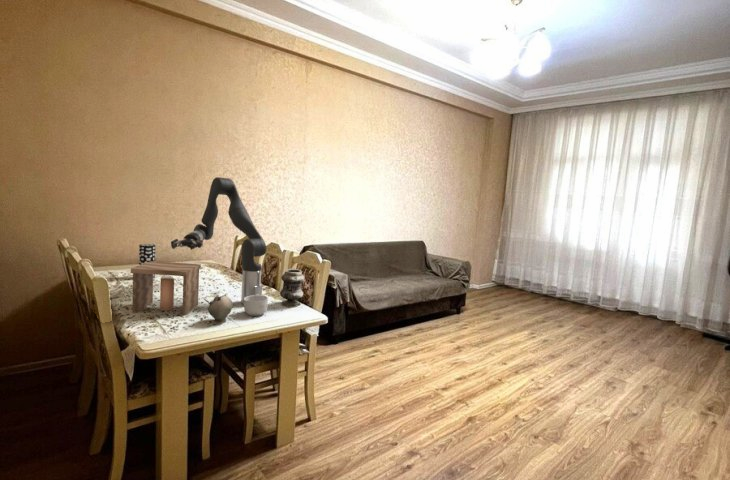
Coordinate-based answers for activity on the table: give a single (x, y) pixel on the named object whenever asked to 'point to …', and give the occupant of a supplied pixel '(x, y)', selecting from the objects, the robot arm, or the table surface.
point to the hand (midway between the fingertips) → (182, 247)
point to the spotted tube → (146, 254)
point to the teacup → (255, 304)
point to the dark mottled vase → (292, 287)
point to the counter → (146, 271)
